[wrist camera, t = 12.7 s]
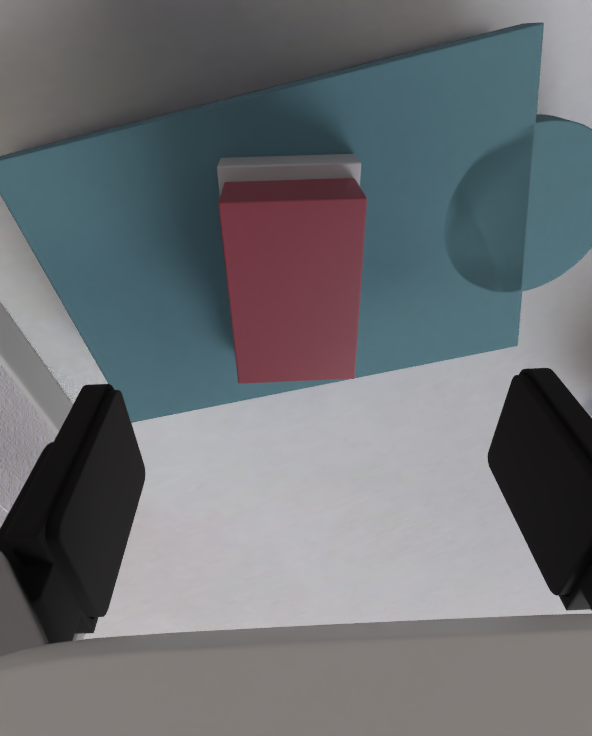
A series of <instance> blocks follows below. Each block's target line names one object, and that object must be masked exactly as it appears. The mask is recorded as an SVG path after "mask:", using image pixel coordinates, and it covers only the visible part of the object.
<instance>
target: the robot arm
mask: <svg viewBox="0 0 592 736" xmlns="http://www.w3.org/2000/svg"><path fill="white" fill-rule="evenodd" d="M488 463H489V467H490V469H491V471H492V473H493V475H494V477H495V479H496V481H497V483H498V485H499V487H500V489H501V492H502V494H503V496H504V498H505V500H506V502H507V504H508V506H509V508H510V510H511V512H512V514H513V516H514V518H515V520H516V522H517V524H518V526H519V528H520V530H521V532H522V534H523V536H524V538H525V540H526V542H527V545H528V547H529V549H530V551H531V553H532V555H533V557H534V559H535V561H536V563H537V565H538V567H539V569H540V571H541V573H542V575H543V577H544V579H545V581H546V583H547V585H548V587H549V589H550V591H551V592H552V593H553V594H555V595H559V597H560V599H561V601H562V603H563V605H564V607H565V609H566V610H584V609H591V610H592V418H591V417H590V416H589V415H588V413H587V412H586V411H585V410H584V408H583V407H582V406H581V405H580V404H579V402H578V401H577V400H576V399H575V397H574V396H573V395H572V394H571V392H570V391H569V390H568V389H567V388H566V386H565V385H564V384H563V383H562V381H561V380H560V379H559V378H558V376H557V375H556V374H555V373H554V372H553V371H552V370H551V369H549V368H535V369H523V370H522V371H521V372H520V374H519V375H516V376H514V377H513V379H512V382H511V385H510V388H509V391H508V394H507V397H506V400H505V403H504V406H503V409H502V412H501V415H500V418H499V421H498V424H497V427H496V430H495V433H494V437H493V440H492V443H491V446H490V449H489V452H488ZM144 481H145V467H144V463H143V460H142V457H141V453H140V450H139V447H138V444H137V440H136V437H135V434H134V431H133V427H132V424H131V421H130V418H129V414H128V411H127V408H126V405H125V401H124V398H123V395H122V393H121V391H120V390H114V388H113V386H112V385H110V384H98V385H85V386H83V388H82V389H81V391H80V393H79V395H78V397H77V399H76V401H75V402H74V404H73V406H72V408H71V410H70V412H69V414H68V416H67V417H66V419H65V421H64V423H63V425H62V427H61V429H60V431H59V433H58V434H57V436H56V438H55V440H54V442H50V443H49V444H47V445H46V447H45V448H44V449H43V451H42V453H41V455H40V456H39V458H38V460H37V462H36V464H35V466H34V467H33V469H32V471H31V473H30V475H29V477H28V478H27V480H26V482H25V484H24V486H23V488H22V489H21V491H20V493H19V495H18V497H17V499H16V500H15V502H14V504H13V506H12V508H11V510H10V511H9V513H8V515H7V517H6V519H5V521H4V522H3V524H2V526H1V528H0V736H592V614H563V615H533V616H510V617H486V618H463V619H440V620H418V621H397V622H375V623H355V624H334V625H313V626H293V627H274V628H255V629H236V630H217V631H199V632H180V633H164V634H149V635H135V636H121V637H107V638H94V639H85V640H77V641H73V637H74V634H82V633H94V630H95V627H96V623H97V620H98V617H104V616H105V614H106V613H107V610H108V608H109V604H110V601H111V597H112V594H113V590H114V587H115V583H116V580H117V576H118V573H119V569H120V566H121V562H122V559H123V555H124V552H125V548H126V544H127V541H128V537H129V534H130V530H131V527H132V523H133V520H134V516H135V513H136V509H137V506H138V502H139V499H140V495H141V492H142V488H143V485H144Z"/></svg>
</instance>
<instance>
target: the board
mask: <svg viewBox="0 0 592 736" xmlns="http://www.w3.org/2000/svg"><path fill="white" fill-rule="evenodd" d="M543 26H544V24H543V23H526V24H520V25H516V26H512V27H508V28H504V29H500V30H496V31H492V32H488V33H484V34H480V35H476V36H472V37H468V38H465V39H461V40H457V41H453V42H449V43H445V44H441V45H437V46H433V47H429V48H425V49H421V50H417V51H413V52H409V53H405V54H401V55H397V56H394V57H390V58H386V59H382V60H378V61H374V62H370V63H366V64H362V65H358V66H354V67H350V68H346V69H342V70H338V71H334V72H330V73H326V74H323V75H319V76H315V77H311V78H307V79H303V80H299V81H295V82H291V83H287V84H283V85H279V86H275V87H271V88H267V89H263V90H259V91H255V92H252V93H248V94H244V95H240V96H236V97H232V98H228V99H224V100H220V101H216V102H212V103H208V104H204V105H200V106H196V107H192V108H188V109H184V110H181V111H177V112H173V113H169V114H165V115H161V116H157V117H153V118H149V119H145V120H141V121H137V122H133V123H129V124H125V125H121V126H117V127H113V128H110V129H106V130H102V131H98V132H94V133H90V134H86V135H82V136H78V137H74V138H70V139H66V140H62V141H58V142H54V143H50V144H46V145H42V146H38V147H35V148H31V149H27V150H23V151H19V152H15V153H11V154H7V155H3V156H0V194H1V196H2V198H3V200H4V201H5V203H6V205H7V207H8V209H9V210H10V212H11V214H12V216H13V217H14V219H15V221H16V223H17V224H18V226H19V228H20V230H21V231H22V233H23V235H24V237H25V238H26V240H27V242H28V244H29V245H30V247H31V249H32V251H33V252H34V254H35V256H36V258H37V259H38V261H39V263H40V265H41V266H42V268H43V270H44V272H45V273H46V275H47V277H48V279H49V280H50V282H51V284H52V286H53V287H54V289H55V291H56V293H57V294H58V296H59V298H60V300H61V302H62V303H63V305H64V307H65V309H66V310H67V312H68V314H69V316H70V317H71V319H72V321H73V323H74V324H75V326H76V328H77V330H78V331H79V333H80V335H81V337H82V338H83V340H84V342H85V344H86V345H87V347H88V349H89V351H90V352H91V354H92V356H93V358H94V359H95V361H96V363H97V365H98V366H99V368H100V370H101V372H102V373H103V375H104V377H105V379H106V380H107V382H108V384H110V385H112V386H113V388H114V390H120V391H121V393H122V395H123V398H124V401H125V405H126V408H127V411H128V414H129V418H130V421H131V423H132V422H137V421H142V420H147V419H152V418H157V417H162V416H167V415H172V414H177V413H182V412H187V411H192V410H197V409H202V408H207V407H212V406H217V405H222V404H227V403H232V402H237V401H242V400H247V399H252V398H258V397H263V396H268V395H273V394H278V393H283V392H288V391H293V390H298V389H303V388H308V387H313V386H318V385H323V384H328V383H333V382H338V381H343V380H348V379H336V380H314V381H292V382H270V383H247V384H239V383H238V376H237V367H236V358H235V349H234V340H233V332H232V323H231V314H230V305H229V296H228V287H227V278H226V270H225V261H224V252H223V243H222V234H221V225H220V216H219V208H218V202H219V199H220V192H219V183H218V174H217V166H218V164H219V161H220V158H228V157H261V156H295V155H328V154H355V155H356V157H357V158H358V159H359V161H360V162H361V176H360V188H361V189H362V191H363V192H364V194H365V196H366V197H367V208H366V222H365V237H364V251H363V266H362V280H361V295H360V309H359V324H358V338H357V353H356V367H355V378H358V377H363V376H368V375H373V374H378V373H383V372H388V371H393V370H398V369H403V368H408V367H413V366H418V365H423V364H428V363H433V362H438V361H443V360H448V359H453V358H458V357H463V356H469V355H474V354H479V353H484V352H489V351H494V350H499V349H504V348H509V347H514V346H517V345H518V334H519V322H520V310H521V297H522V291H526V290H529V289H533V288H536V287H538V286H541V285H544V284H546V283H548V282H550V281H552V280H554V279H555V278H557V277H559V276H560V275H562V274H563V273H565V272H566V271H567V270H569V269H570V268H571V267H573V266H574V265H575V264H576V263H577V262H578V261H579V260H581V259H582V258H583V257H584V256H585V254H586V253H587V252H588V251H589V250H590V249H591V248H592V129H591V128H589V127H587V126H585V125H583V124H580V123H577V122H573V121H570V120H566V119H563V118H559V117H555V116H550V115H536V112H537V100H538V88H539V76H540V63H541V51H542V39H543Z"/></svg>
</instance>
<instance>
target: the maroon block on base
mask: <svg viewBox="0 0 592 736" xmlns="http://www.w3.org/2000/svg"><path fill="white" fill-rule="evenodd" d="M217 174H218V183H219V192H220V199H219V202H218V208H219V216H220V225H221V234H222V243H223V252H224V261H225V270H226V278H227V287H228V296H229V305H230V314H231V323H232V332H233V340H234V349H235V358H236V367H237V376H238V383H239V384H247V383H270V382H292V381H314V380H336V379H354V378H355V367H356V353H357V338H358V324H359V309H360V295H361V280H362V266H363V251H364V237H365V222H366V208H367V197H366V196H365V194H364V192H363V191H362V189H361V188H360V176H361V162H360V161H359V159H358V158H357V157H356V155H355V154H328V155H295V156H261V157H228V158H220V161H219V164H218V166H217Z"/></svg>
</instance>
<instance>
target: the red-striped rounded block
mask: <svg viewBox="0 0 592 736" xmlns="http://www.w3.org/2000/svg"><path fill="white" fill-rule="evenodd" d="M72 406H73V404H72V403H71V401H70V400H69V398H68V397H67V396H66V394H65V393H64V391H63V390H62V389H61V387H60V386H59V384H58V383H57V382H56V380H55V379H54V377H53V376H52V374H51V373H50V372H49V370H48V369H47V367H46V366H45V365H44V363H43V362H42V360H41V359H40V358H39V356H38V355H37V353H36V352H35V351H34V349H33V348H32V346H31V345H30V344H29V342H28V341H27V339H26V338H25V336H24V335H23V334H22V332H21V331H20V329H19V328H18V327H17V325H16V324H15V322H14V321H13V320H12V318H11V317H10V315H9V314H8V313H7V311H6V310H5V308H4V307H3V306H2V304H1V303H0V528H1V526H2V524H3V522H4V521H5V519H6V517H7V515H8V513H9V511H10V510H11V508H12V506H13V504H14V502H15V500H16V499H17V497H18V495H19V493H20V491H21V489H22V488H23V486H24V484H25V482H26V480H27V478H28V477H29V475H30V473H31V471H32V469H33V467H34V466H35V464H36V462H37V460H38V458H39V456H40V455H41V453H42V451H43V449H44V448H45V447H46V445H47V444H49V443H50V442H54V440H55V438H56V436H57V434H58V433H59V431H60V429H61V427H62V425H63V423H64V421H65V419H66V417H67V416H68V414H69V412H70V410H71V408H72ZM84 636H85V633H82V634H74V637H73V641H77V640H83V639H84Z"/></svg>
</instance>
